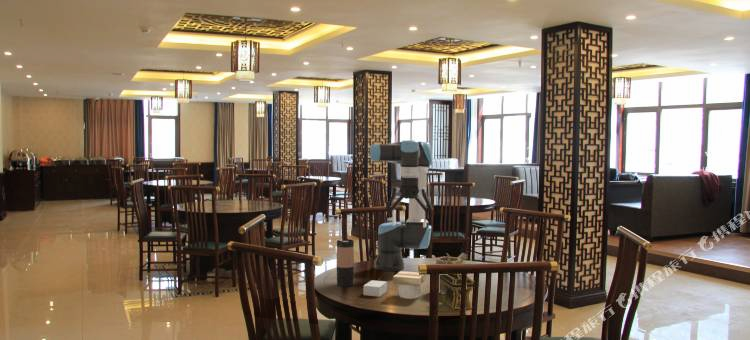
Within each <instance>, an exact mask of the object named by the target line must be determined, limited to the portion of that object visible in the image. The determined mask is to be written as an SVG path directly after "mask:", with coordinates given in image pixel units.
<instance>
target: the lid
mask: <svg viewBox="0 0 750 340" xmlns="http://www.w3.org/2000/svg"><path fill="white" fill-rule="evenodd" d="M426 280H427V274H426V275H419V273H418V271H406V270H400V271H398V272H397V273H396V274H395V275H393V276H392V284H393V285H399V284H401V285H412V286H420V287H421V285H422V284H423V283H424V282H426Z"/></svg>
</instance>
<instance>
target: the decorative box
mask: <svg viewBox="0 0 750 340" xmlns="http://www.w3.org/2000/svg"><path fill="white" fill-rule="evenodd" d="M446 256H447V257H448V261H447V264H450V263H451V259H450V257H451V255H450V254H448V253H447V252H446ZM466 256H467V257H465V258H463V259H462V260H461V261H460V262H459V263H457V264H461V262H462V263H463V262H464V261H465V260H467V259H468V254H466ZM452 264H456V263H455V262H452ZM466 276H467V289H466V309H465V310H470V309H472V308H471V305H472V304H471V301H470V293H471V291H472V290H473V289H474V288H473V281H474V280H473V279H472V278H471V277H469V276H468V275H466ZM440 280H441V281H442V282H443V284H444V286H445V295H443V298H442V299H441V301H442V300H443V301H444V302H445V303H446V304H445V303H444V302H443V301H442V302H443V303H444V304H445V305H446V306H448V305H449V306H450V307H451V308H450V307H449V306H448V307H449V308H450V309H452V310H454V309H459V308H460V295H461V275H460V274H448V275H440ZM459 310H460V309H459Z"/></svg>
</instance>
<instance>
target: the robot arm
mask: <svg viewBox="0 0 750 340" xmlns="http://www.w3.org/2000/svg"><path fill="white" fill-rule="evenodd" d="M432 154H433V153H432V147H431V143H429V142H427V141H418V140H410V139H409V140H402V141H397V142H389V143H387V144H382V143H380V144H379V143H375V144H373V143H372V144H371V145H370V147H369V157H370V160H371V161H372V162H387V163H392V164H395V165H396V164H397V165H400V176H401V177H400V187H398V186H396V187H393V189H392V190H393V191H392V194H391V196H390V198H389V200H388V202H387V204H386V206H385V209H388V210H389V214H390V215H389V216H390V219H391V218H392V219H391V220H392V221H390V222H384V223H381V224H380V225H379V226H378V230H377V231H378V233H377V235H378V237H377V239H378V240H377V242H378V243H377V244H378V246H377V248H378V250H377V251H378V252H377V253H378V254H377V256H376V259H375V261H374V269H375V270H378V271H382V272H400V271H404V269H405V262H404V259H403V256H402V255H403V254H402V249H411V250H412V249H415V250H416V249H417V250H421V249H424V250H425V249H428V248H429V246H430V243H431V242H430V241H431V235H432V234H431V233H432V225H430V223H429V222H430V221H428V220H429V217H430V214H429V212H432V211H433V210H434V207H433V205H432V203H431V201H430V199H429V197H428V195H427V172H428V171H429V169H431V168H430V167H431V166H432V165H433V155H432ZM399 192H400V193H401V195H400V196H399V197H398V199H397V200H395V199H396V197H397V194H398V193H399ZM403 199H408V218H407V220H406V221H405V224H403V223H402V222H401V221H397V210H396V209H395V208H397V207H398V205H399V204H400V203H401V201H402V200H403ZM394 200H395V202H394Z"/></svg>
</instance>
